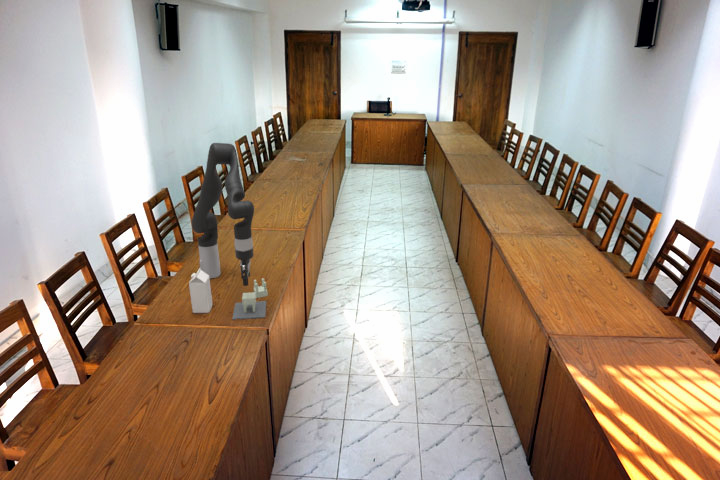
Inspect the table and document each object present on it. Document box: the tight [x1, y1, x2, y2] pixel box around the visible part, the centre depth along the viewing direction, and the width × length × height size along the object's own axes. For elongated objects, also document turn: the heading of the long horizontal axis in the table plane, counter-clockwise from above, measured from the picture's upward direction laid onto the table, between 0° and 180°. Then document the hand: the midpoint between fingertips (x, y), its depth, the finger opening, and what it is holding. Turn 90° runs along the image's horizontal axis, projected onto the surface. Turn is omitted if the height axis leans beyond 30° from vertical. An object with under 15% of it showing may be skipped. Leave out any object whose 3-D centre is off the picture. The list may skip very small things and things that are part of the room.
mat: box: [232, 300, 267, 321], centre depth 226 cm, size 14×14×1 cm
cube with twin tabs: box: [241, 291, 257, 313], centre depth 225 cm, size 6×6×7 cm
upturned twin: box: [253, 278, 269, 299], centre depth 239 cm, size 6×6×7 cm
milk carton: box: [188, 267, 213, 314], centre depth 224 cm, size 7×7×19 cm
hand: (246, 280), depth 220 cm, fingers open, 8 cm apart
